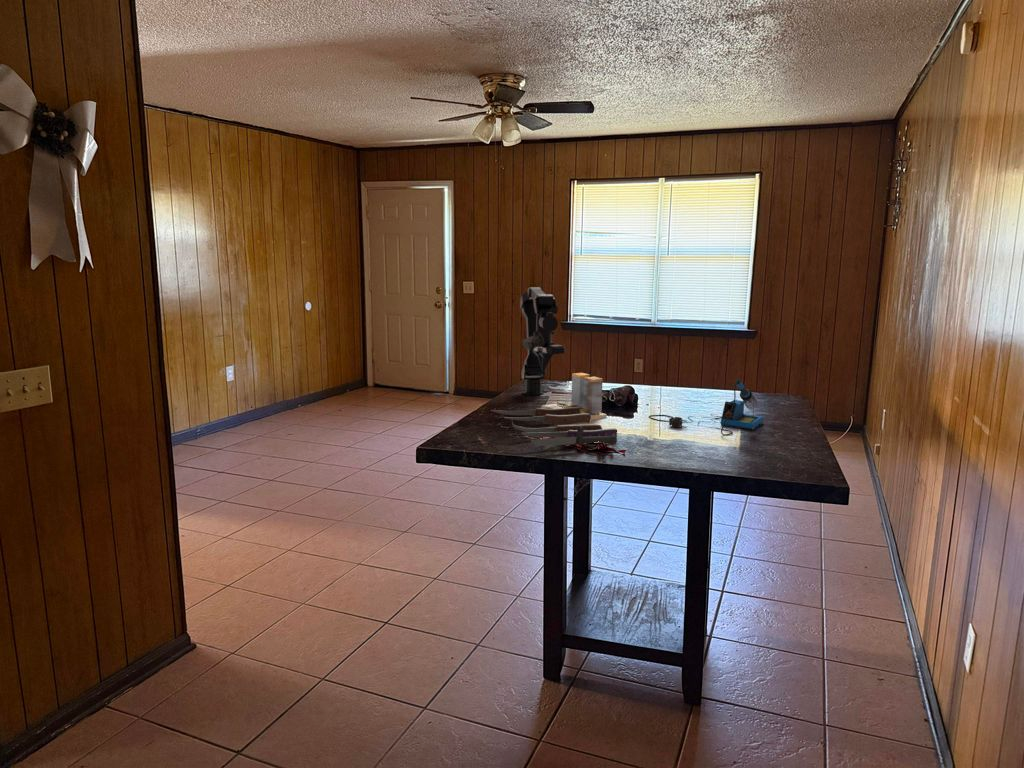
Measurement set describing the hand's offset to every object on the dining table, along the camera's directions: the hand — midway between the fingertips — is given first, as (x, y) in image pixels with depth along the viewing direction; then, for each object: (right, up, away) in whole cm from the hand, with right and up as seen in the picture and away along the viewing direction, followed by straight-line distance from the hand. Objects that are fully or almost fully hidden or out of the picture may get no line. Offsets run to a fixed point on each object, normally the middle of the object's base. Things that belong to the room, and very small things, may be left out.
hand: (543, 369), depth 262 cm
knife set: (+2, -22, -43) cm, 48 cm away
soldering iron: (+54, -19, -21) cm, 61 cm away
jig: (+10, -16, -12) cm, 22 cm away
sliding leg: (+11, -14, -14) cm, 22 cm away
